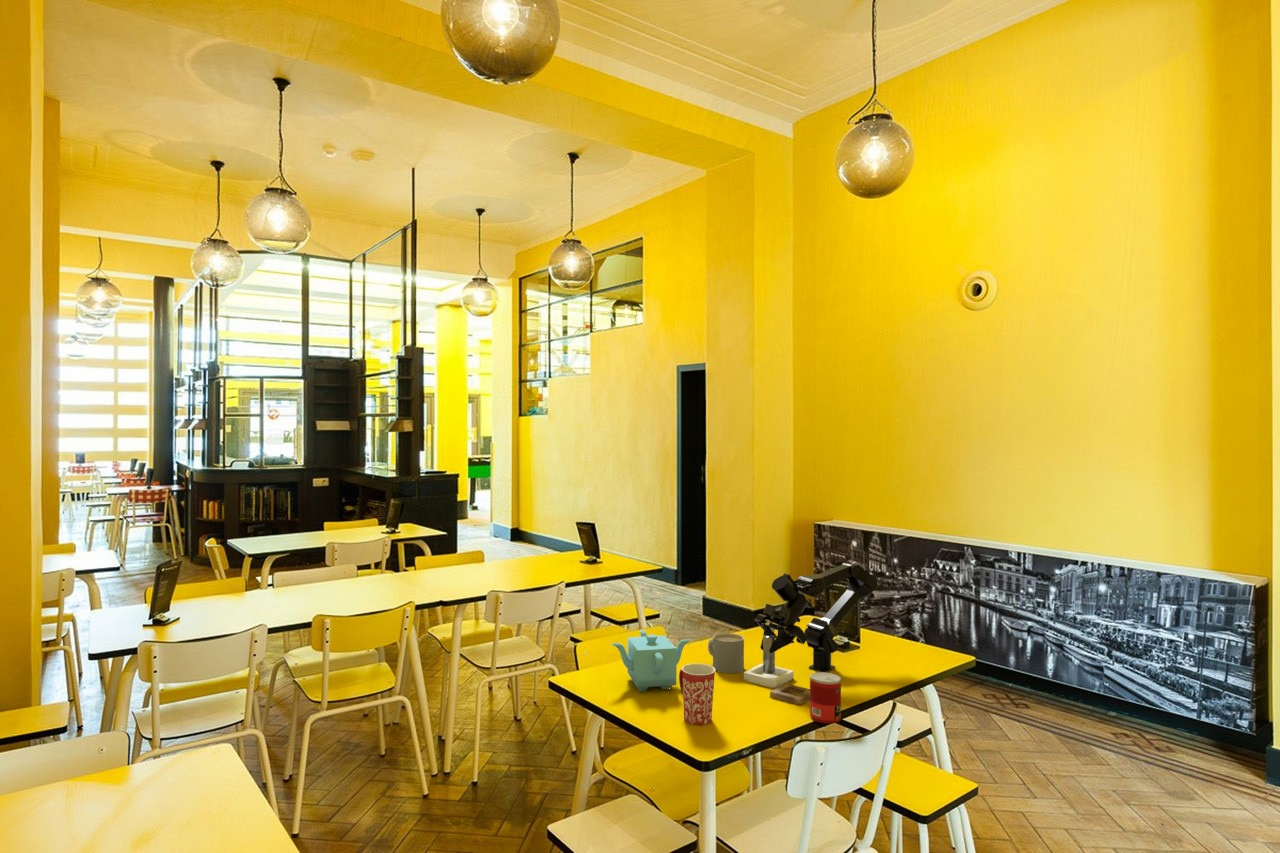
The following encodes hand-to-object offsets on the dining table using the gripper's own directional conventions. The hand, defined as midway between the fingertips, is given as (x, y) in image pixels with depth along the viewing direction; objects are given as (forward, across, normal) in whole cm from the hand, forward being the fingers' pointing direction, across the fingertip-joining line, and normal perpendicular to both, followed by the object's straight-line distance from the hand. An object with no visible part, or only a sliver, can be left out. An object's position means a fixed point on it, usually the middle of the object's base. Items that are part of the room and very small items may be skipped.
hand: (765, 650), depth 215 cm
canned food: (+11, +30, +2) cm, 32 cm away
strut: (+4, 0, +6) cm, 7 cm away
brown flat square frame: (+8, +14, +5) cm, 17 cm away
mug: (+32, +12, -19) cm, 39 cm away
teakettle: (+29, -16, -16) cm, 37 cm away
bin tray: (+6, 0, +7) cm, 9 cm away
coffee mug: (+8, -17, +5) cm, 19 cm away
